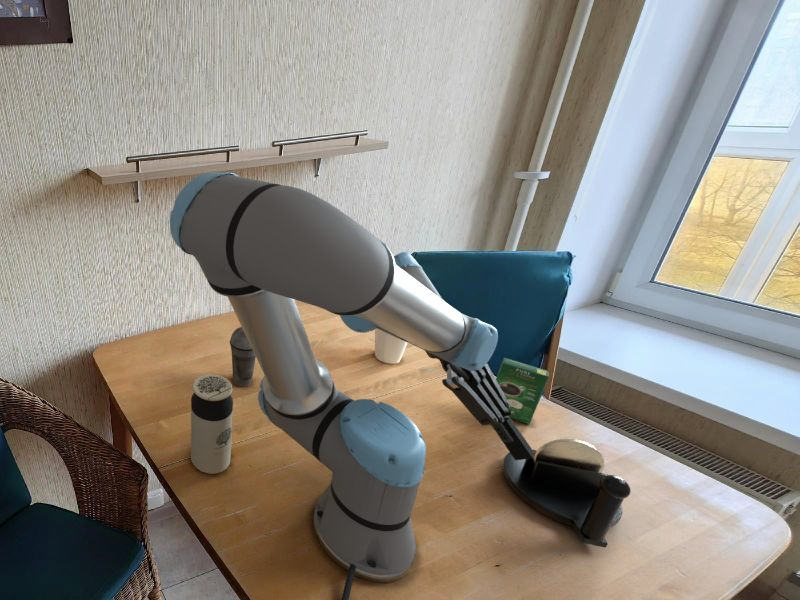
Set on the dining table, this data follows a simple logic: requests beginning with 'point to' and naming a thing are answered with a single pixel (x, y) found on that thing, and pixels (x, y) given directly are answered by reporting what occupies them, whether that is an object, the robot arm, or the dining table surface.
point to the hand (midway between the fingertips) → (525, 457)
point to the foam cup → (388, 347)
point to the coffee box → (522, 388)
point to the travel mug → (211, 423)
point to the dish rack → (570, 487)
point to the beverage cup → (242, 358)
